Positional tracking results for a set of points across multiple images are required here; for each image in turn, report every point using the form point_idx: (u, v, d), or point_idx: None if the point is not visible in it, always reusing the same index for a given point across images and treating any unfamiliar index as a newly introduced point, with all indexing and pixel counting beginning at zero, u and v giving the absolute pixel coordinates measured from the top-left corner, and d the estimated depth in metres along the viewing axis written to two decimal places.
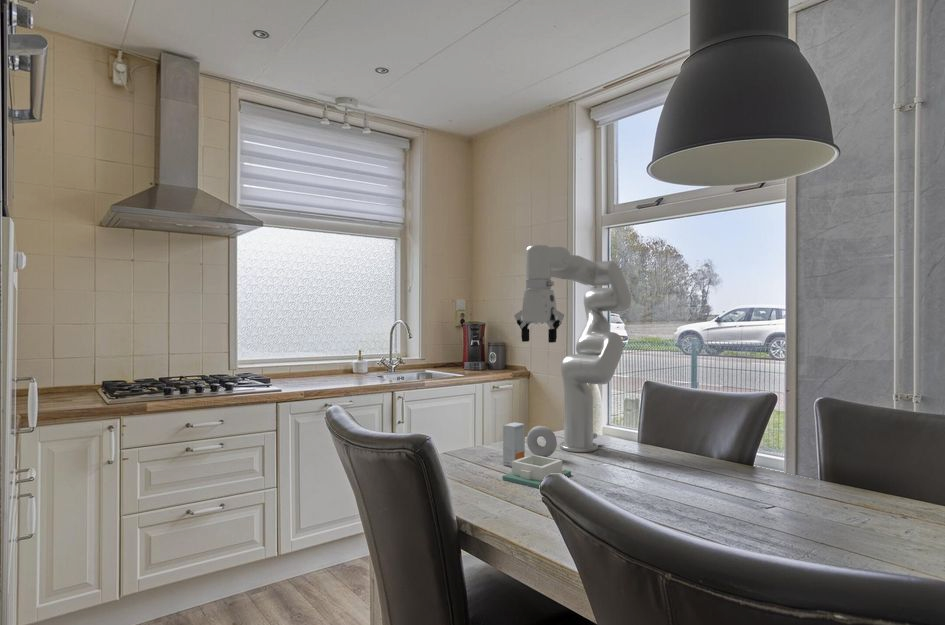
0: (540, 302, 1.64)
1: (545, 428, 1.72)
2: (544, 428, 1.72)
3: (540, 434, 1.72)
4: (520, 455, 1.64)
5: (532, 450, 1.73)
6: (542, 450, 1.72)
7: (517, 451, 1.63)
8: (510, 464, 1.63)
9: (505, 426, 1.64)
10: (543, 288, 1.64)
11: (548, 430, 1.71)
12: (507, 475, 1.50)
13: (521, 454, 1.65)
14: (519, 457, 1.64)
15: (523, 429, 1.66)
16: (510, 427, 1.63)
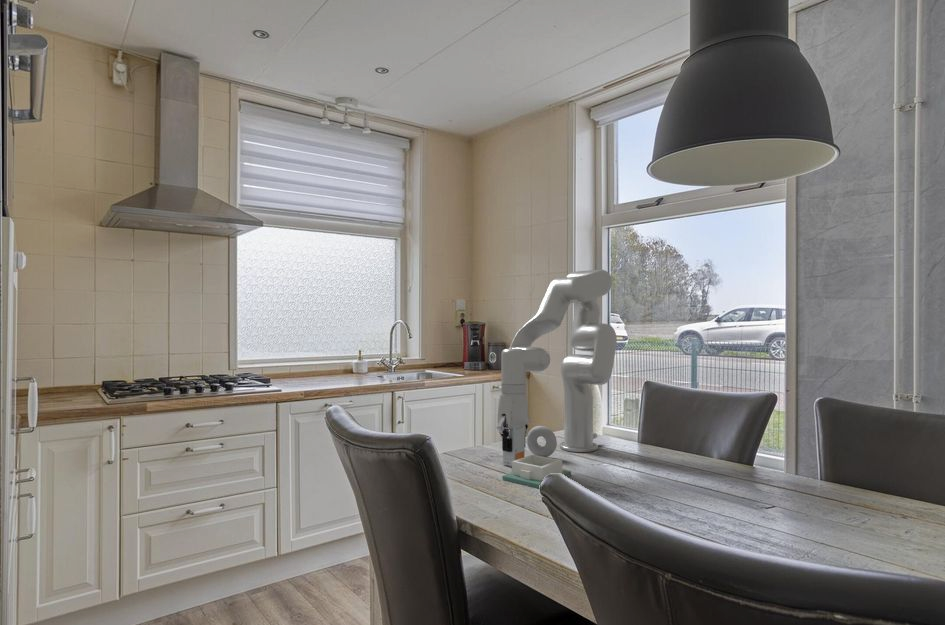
0: (524, 406, 1.66)
1: (545, 428, 1.72)
2: (544, 428, 1.72)
3: (540, 434, 1.72)
4: (520, 455, 1.64)
5: (532, 450, 1.73)
6: (542, 450, 1.72)
7: (517, 451, 1.63)
8: (510, 464, 1.63)
9: (505, 426, 1.64)
10: None
11: (548, 430, 1.71)
12: (507, 475, 1.50)
13: (521, 454, 1.65)
14: (519, 457, 1.64)
15: (523, 429, 1.66)
16: None
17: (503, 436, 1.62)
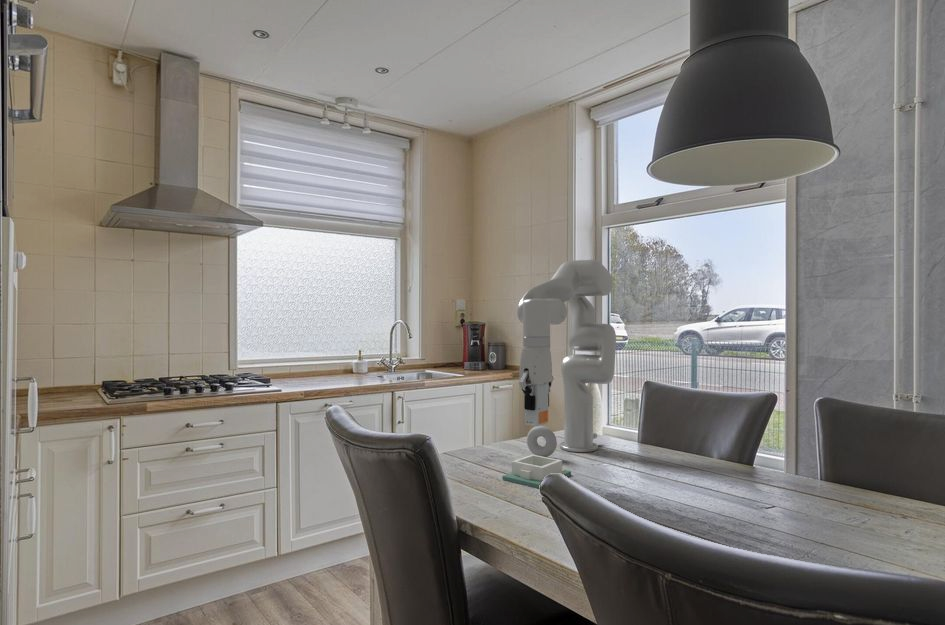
0: (548, 361, 1.52)
1: (545, 428, 1.72)
2: (544, 428, 1.72)
3: (540, 434, 1.72)
4: (543, 414, 1.51)
5: (532, 450, 1.73)
6: (542, 450, 1.72)
7: (541, 409, 1.50)
8: (533, 423, 1.49)
9: None
10: None
11: (548, 430, 1.71)
12: (507, 475, 1.50)
13: (545, 413, 1.51)
14: (543, 416, 1.51)
15: (546, 386, 1.52)
16: None
17: (526, 393, 1.48)
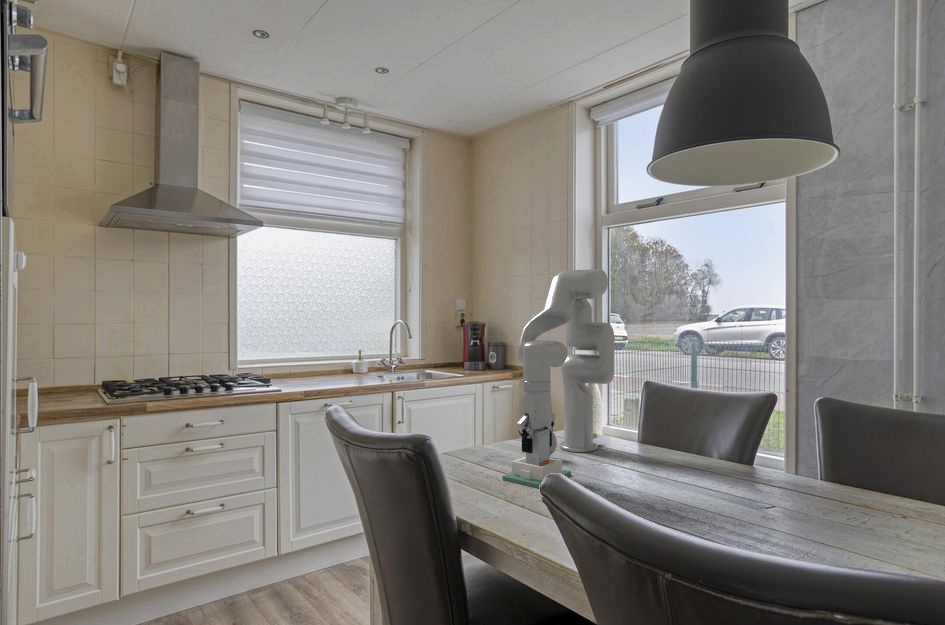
0: (548, 405, 1.52)
1: None
2: None
3: None
4: (544, 464, 1.51)
5: None
6: None
7: (542, 459, 1.50)
8: None
9: (528, 431, 1.51)
10: None
11: None
12: (507, 475, 1.50)
13: (546, 462, 1.52)
14: None
15: (548, 435, 1.53)
16: (534, 433, 1.50)
17: (523, 436, 1.47)
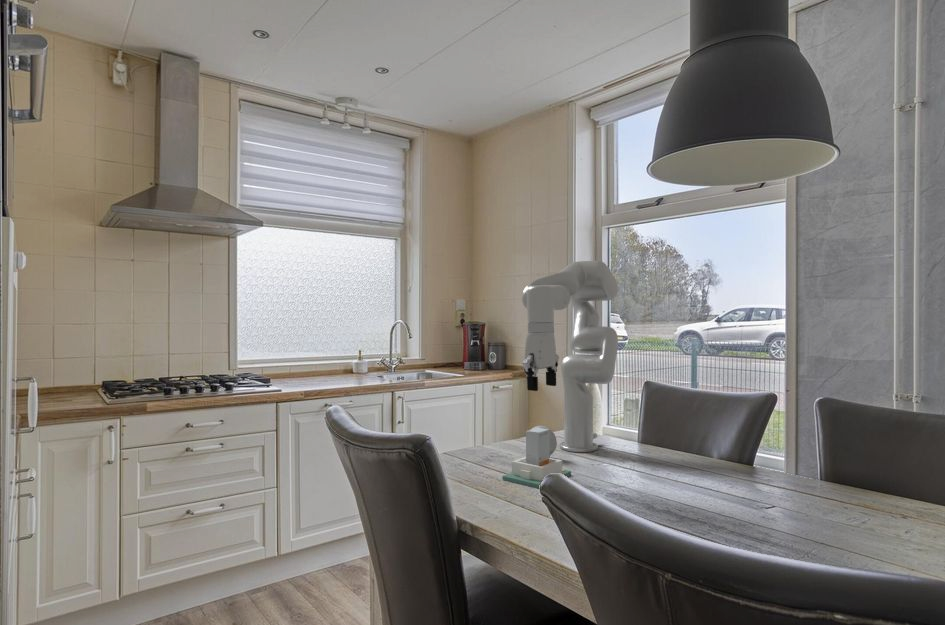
0: (552, 346, 1.58)
1: (545, 428, 1.72)
2: (544, 428, 1.72)
3: None
4: (544, 464, 1.51)
5: None
6: None
7: (542, 459, 1.50)
8: None
9: (528, 431, 1.51)
10: None
11: None
12: (507, 475, 1.50)
13: (546, 462, 1.52)
14: None
15: (548, 435, 1.53)
16: (534, 433, 1.50)
17: (528, 374, 1.53)
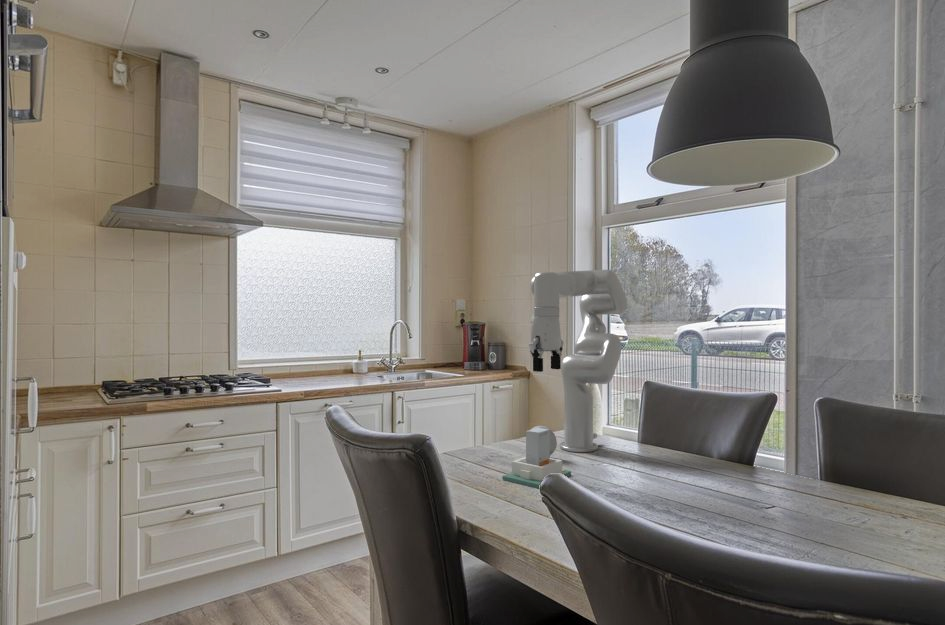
0: (557, 330, 1.65)
1: (545, 428, 1.72)
2: (544, 428, 1.72)
3: None
4: (544, 464, 1.51)
5: None
6: None
7: (542, 459, 1.50)
8: None
9: (528, 431, 1.51)
10: None
11: None
12: (507, 475, 1.50)
13: (546, 462, 1.52)
14: None
15: (548, 435, 1.53)
16: (534, 433, 1.50)
17: (534, 356, 1.60)
